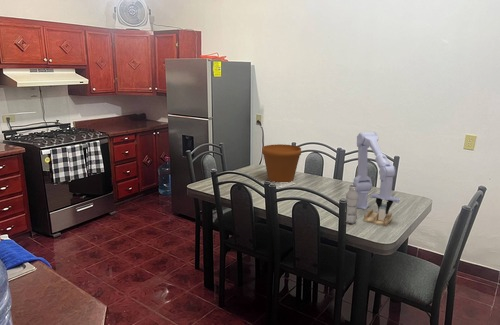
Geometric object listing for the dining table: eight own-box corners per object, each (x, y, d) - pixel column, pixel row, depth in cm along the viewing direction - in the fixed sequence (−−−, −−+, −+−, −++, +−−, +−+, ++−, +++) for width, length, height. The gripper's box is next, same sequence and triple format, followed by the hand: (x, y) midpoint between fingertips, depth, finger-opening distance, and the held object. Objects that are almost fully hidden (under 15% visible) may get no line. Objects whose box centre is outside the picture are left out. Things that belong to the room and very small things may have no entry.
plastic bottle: (354, 219, 193) (357, 184, 189) (358, 224, 187) (361, 188, 182) (342, 219, 193) (344, 184, 188) (346, 225, 186) (348, 188, 182)
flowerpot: (292, 187, 249) (293, 153, 243) (255, 181, 260) (256, 149, 255) (304, 177, 273) (306, 146, 267) (270, 172, 285) (271, 143, 279)
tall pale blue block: (378, 219, 190) (379, 207, 188) (381, 215, 196) (382, 203, 194) (384, 221, 188) (385, 208, 187) (387, 216, 194) (388, 204, 192)
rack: (362, 221, 192) (363, 215, 191) (370, 213, 202) (370, 208, 201) (386, 226, 185) (386, 220, 184) (392, 218, 196) (392, 213, 195)
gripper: (369, 187, 189) (367, 212, 192) (398, 193, 181) (395, 218, 184) (373, 184, 194) (371, 208, 198) (401, 189, 187) (399, 214, 190)
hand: (383, 212), depth 191 cm, fingers closed on tall pale blue block, 3 cm apart
